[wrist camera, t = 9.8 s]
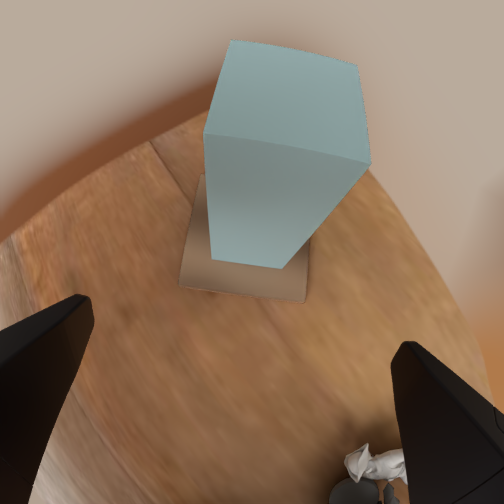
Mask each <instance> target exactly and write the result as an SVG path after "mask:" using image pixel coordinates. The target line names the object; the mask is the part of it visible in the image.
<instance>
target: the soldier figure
mask: <svg viewBox="0 0 504 504" xmlns="http://www.w3.org/2000/svg"><path fill="white" fill-rule="evenodd" d="M368 445H369V444H368V443H367V444H365V445H364V446H362V447H361V448H360V449H358V450H356V451H354V452H353V453H351V454H348V455H346V458H345V460H344V464H345V466H346V467H347V469H348V472H349V475H350V476H351V478H352V479H353V480H355V482H356V483H358V482H359V480H360V478H361V477H365V478H368V479H371V480H373V479H384V480H385V481H392V480H393V479H394V478H397V477H400V478H401V479H402V480H403V481H404V483H405V484H407V485H408V483H407V476H406V469H405V462H404V455H403V449H395V450H390V451H387V452H384V453H383V454H380V455H379V454H376V455H375V457H374V456H373V457H371V455H370V453H369V452H368Z"/></svg>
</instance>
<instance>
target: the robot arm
mask: <svg viewBox="0 0 504 504" xmlns="http://www.w3.org/2000/svg"><path fill="white" fill-rule="evenodd" d="M93 327H94V315H93V309H92V303H91V299H90V298H89V297H88V296H85V295H81V294H75V295H73V296H70V297H68V298H66V299H64V300H62V301H60V302H58V303H56V304H54V305H52V306H50V307H48V308H46V309H43V310H41V311H39V312H37V313H35V314H33V315H31V316H29V317H27V318H25V319H23V320H21V321H19V322H17V323H15V324H13V325H11V326H9V327H7V328H5V329H3V330H1V331H0V504H28V502H29V498H30V495H31V491H32V488H33V486H32V485H33V484H34V481H35V478H36V475H37V472H38V469H39V466H40V463H41V460H42V457H43V454H44V452H45V449H46V446H47V443H48V441H49V438H50V435H51V433H52V430H53V428H54V425H55V423H56V420H57V418H58V415H59V413H60V410H61V408H62V406H63V403H64V401H65V399H66V396H67V394H68V392H69V389H70V387H71V385H72V383H73V381H74V378H75V376H76V374H77V372H78V369H79V366H80V364H81V361H82V358H83V355H84V352H85V349H86V346H87V344H88V341H89V338H90V335H91V333H92V330H93ZM391 375H392V383H393V392H394V402H395V410H396V416H397V421H398V426H399V432H400V437H401V443H402V449H403V455H404V462H405V469H406V476H407V483H408V492H409V501H410V504H504V414H503V413H501V412H500V411H499V410H498V409H497V408H496V407H493V405H492V404H491V403H490V402H489V401H487V400H486V399H485V398H484V397H483V396H481V395H480V394H479V393H478V392H477V391H476V390H474V389H473V388H472V387H471V386H470V385H468V384H467V383H466V382H465V381H464V380H462V379H461V378H460V377H459V376H458V375H456V374H455V373H454V372H453V371H452V370H450V369H449V368H448V367H447V366H446V365H444V364H443V363H442V362H441V361H439V360H438V359H437V358H436V357H435V356H433V355H432V354H431V353H430V352H428V351H427V350H426V349H425V348H423V347H422V346H421V345H420V344H418V343H417V342H415V341H404V342H403V343H402V344H401V345H400V347H399V349H398V351H397V352H396V354H395V356H394V357H393V359H392V362H391Z"/></svg>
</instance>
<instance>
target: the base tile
mask: <svg viewBox="0 0 504 504" xmlns="http://www.w3.org/2000/svg"><path fill="white" fill-rule="evenodd" d="M309 240H310V237H309V239H308V240H307V241H306V242H305V243H304V244H303V246H302V247H301V248H300V249H299V250H298V251H297V252H296V254H295V255H294V256H293V257H292V258H291V259H290V260H289V262H288V263H287V264H286V265H285V266H284V267H283V268H282V269H277V268H270V267H263V266H256V265H249V264H241V263H234V262H227V261H220V260H213V259H212V256H211V245H210V232H209V220H208V206H207V192H206V177H205V174H201V175H200V179H199V183H198V188H197V192H196V196H195V201H194V205H193V210H192V214H191V219H190V224H189V229H188V233H187V238H186V243H185V248H184V254H183V259H182V264H181V269H180V275H179V280H178V285H179V287H184V288H191V289H197V290H204V291H211V292H217V293H224V294H231V295H239V296H246V297H253V298H261V299H269V300H277V301H285V302H293V303H302V304H303V303H304V302H305V298H306V286H307V272H308V257H309Z"/></svg>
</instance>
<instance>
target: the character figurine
mask: <svg viewBox="0 0 504 504" xmlns="http://www.w3.org/2000/svg"><path fill="white" fill-rule="evenodd" d="M383 493H384V504H399V502H400V501H399V500H398V499H397V498H396V497H395V496H394V488H393V487H392V486H391V485H390V484H389V483H388V484H387V485H386V487H385V488H384V490H383ZM378 500H379V491H378V487H377V485H376V483H375V482H374V481H373V480H371V479H368V478H365V477H361V478H360V480H359V482H358V483H356V482H355V480H353V479H352V478H351V477H350V478H347V479H345V480H342V481H341V482H339V483H338V484H337V485H335V486H334V488H333V489H332V491H331V493H330V497H329V504H382V501H378Z"/></svg>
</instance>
